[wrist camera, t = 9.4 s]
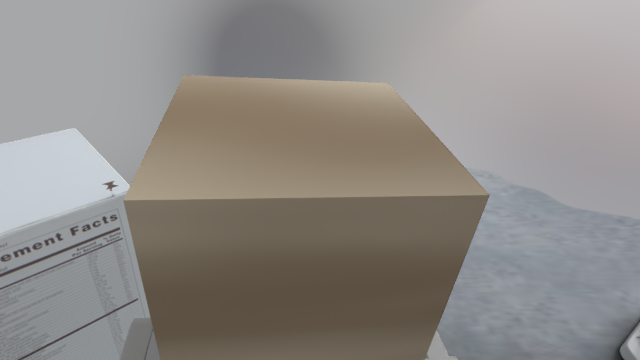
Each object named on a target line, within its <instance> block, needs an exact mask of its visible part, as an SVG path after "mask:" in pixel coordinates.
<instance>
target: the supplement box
mask: <svg viewBox="0 0 640 360" xmlns="http://www.w3.org/2000/svg"><path fill="white" fill-rule="evenodd" d="M129 187H130V186H129V185H128V183H127V182H126V181H125V180H124V179H123V178H122V177H121V176H120V175H119V174H118V173H117V172H116V171H115V170H114V169H113V167H111V165H110V164H109V163H108V162H107V161H106V160H105V159H104V158H103V157H102V156H101V155H100V154H99V153H98V152H97V151H96V150H95V149H94V147H93V146H91V144H90V143H89V142H88V141H87V140H86V139H85V138H84V137H83V136H82V135H81V134H80V133H79V132H78V131H77V130H76V129H75V128H71V129H67V130H62V131H57V132H53V133H48V134H44V135H39V136H35V137H30V138H26V139H21V140H17V141H12V142H8V143H3V144H0V360H119V359H120V356H121V352H122V349H123V346H124V343H125V340H126V337H127V333H128V330H129V327H130V325H131V323H132V321H133V320H134V318H149V317H150V313H149V309H148V305H147V301H146V296H145V292H144V288H143V283H142V279H141V275H140V271H139V266H138V262H137V258H136V253H135V249H134V245H133V240H132V236H131V232H130V228H129V223H128V219H127V215H126V210H125V206H124V202H123V200H124V198H125V196H126V194H127V191H128V189H129Z"/></svg>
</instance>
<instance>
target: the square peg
mask: <svg viewBox="0 0 640 360" xmlns="http://www.w3.org/2000/svg"><path fill="white" fill-rule="evenodd" d="M488 198H489V194H488V193H487V192H486V190H485V189H484V188H483V187H482V186H481V185H480V184H479V183H478V182H477V181H476V179H475V178H474V177H473V176H472V175H471V174H470V173H469V172H468V171H467V169H466V168H465V167H464V166H463V165H462V164H461V163H460V162H459V161H458V160H457V158H456V157H455V156H454V155H453V154H452V153H451V152H450V151H449V150H448V148H447V147H446V146H445V145H444V144H443V143H442V142H441V141H440V140H439V138H438V137H437V136H436V135H435V134H434V133H433V132H432V131H431V130H430V129H429V127H428V126H427V125H426V124H425V123H424V122H423V121H422V120H421V119H420V118H419V116H418V115H417V114H416V113H415V112H414V111H413V110H412V109H411V108H410V106H409V105H408V104H407V103H406V102H405V101H404V100H403V99H402V98H401V96H400V95H399V94H398V93H397V92H396V91H395V90H394V89H393V88H392V87H391V86H390V84H389V83H372V82H345V81H320V80H293V79H268V78H243V77H217V76H191V75H184V76H183V78H182V80H181V82H180V84H179V86H178V88H177V90H176V92H175V94H174V96H173V99H172V101H171V103H170V105H169V107H168V109H167V111H166V113H165V115H164V117H163V119H162V122H161V123H160V125H159V127H158V130H157V132H156V134H155V136H154V138H153V140H152V142H151V145H150V146H149V148H148V150H147V152H146V154H145V157H144V159H143V160H142V163H141V165H140V167H139V169H138V171H137V173H136V175H135V177H134V179H133V181H132V183H131V185H130V187H129V189H128V191H127V194H126V196H125V198H124V200H123V202H124V206H125V210H126V215H127V219H128V223H129V228H130V232H131V236H132V240H133V245H134V249H135V253H136V258H137V262H138V266H139V271H140V275H141V279H142V283H143V288H144V292H145V296H146V301H147V305H148V309H149V313H150V318H151V322H152V326H153V331H154V335H155V339H156V344H157V348H158V352H159V356H160V360H425V357H426V355H427V352H428V350H429V347H430V345H431V342H432V340H433V337H434V335H435V332H436V330H437V327H438V324H439V322H440V319H441V317H442V314H443V312H444V309H445V307H446V304H447V302H448V299H449V297H450V294H451V292H452V289H453V287H454V284H455V281H456V279H457V276H458V274H459V271H460V269H461V266H462V264H463V261H464V259H465V256H466V254H467V251H468V249H469V246H470V244H471V241H472V238H473V236H474V233H475V231H476V228H477V226H478V223H479V221H480V218H481V216H482V213H483V211H484V208H485V206H486V203H487V201H488Z"/></svg>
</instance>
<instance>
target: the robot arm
mask: <svg viewBox="0 0 640 360" xmlns="http://www.w3.org/2000/svg"><path fill="white" fill-rule="evenodd" d="M620 353H621V355H622V357H623V358H624V360H640V322H639V323H638V325H637V326H636V327H635V329H634V330H633V331H632V333H631V334H630V335H629V337H628V338H627V339H626V341H625V342H624V343H623V345H622V346H621V348H620ZM119 360H160V356H159V352H158V348H157V344H156V339H155V335H154V331H153V326H152V322H151V318H150V317H149V318H134V320H133V321H132V323H131V325H130V327H129V330H128V333H127V337H126V340H125V343H124V346H123V349H122V352H121V356H120V359H119ZM425 360H459V359H457V358H456V357H455V356H449V355H448V353H447V351H446V349H445V347H444V345H443V343H442V340H441V338H440V336H439V334H438V332H437V330H436V332H435V335H434V337H433V340H432V342H431V345H430V347H429V350H428V352H427V355H426V357H425Z"/></svg>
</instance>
